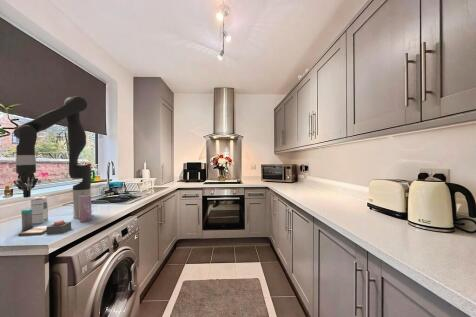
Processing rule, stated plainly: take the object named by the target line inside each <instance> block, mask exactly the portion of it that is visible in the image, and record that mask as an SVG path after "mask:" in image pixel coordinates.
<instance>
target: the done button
mask: <svg viewBox="0 0 476 317" xmlns="http://www.w3.org/2000/svg"><path fill="white" fill-rule="evenodd" d="M64 222H65V220H57V221H54V222H53V224H54V226H57V225H63V224H64Z"/></svg>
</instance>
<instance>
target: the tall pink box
mask: <svg viewBox="0 0 476 317" xmlns="http://www.w3.org/2000/svg"><path fill="white" fill-rule="evenodd" d="M92 217H93V216H92V195H80V196H79V218H78V220H79V223H87V222H90V221H92V220H93V219H92Z"/></svg>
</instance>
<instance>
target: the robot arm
mask: <svg viewBox="0 0 476 317" xmlns="http://www.w3.org/2000/svg"><path fill="white" fill-rule="evenodd" d="M87 108H88V102H87V100H86V99H85V98H84V97H81V96H77V95H76V96H69V97H66V99H64V103H63V105H62V106H59V107H58V108H55V109H52V110H50V111H48V112H45V113H43V114H41V115H39V116H38V117H35V118H33V119H32V120H30V121H28V122H26V123H23V124H21V125H19V126H17V127H16V128H15V129H14V130H13V135H14V137H16V139H18V144H16V147H15V148H16V149H15V151H16V152H15V156H16V157H15V174H17V175H18V176H17V179H16V180H13V184H14V185H15V186H16V187H17V189H18V190H21V191H22V196H23V198H24V199H25V198H30V197H31V195H32V193H31V191H32V189H34V188H35V187H36V185H37V183H38V181H39V178H36V177H35V173H37V159H36V144H37V138H38V133H40V132H43V131H45V130H47V129H49V128H51V127H52V126H54V125H56V124H58V123H59V122H61V121H62V120H65V119H66V124H67V125H66V127H67V129H66V130H67V143H68V157H69V158H68V175H69V177H70V179H72V180H73V179H74V180H79V179H81V181H80V182H79V183H77V184H73V185H72V208H73V210H72V212H73V215H72V216H73V218H74V219H79V196H80V195H91V194H92V193H91V185H92V168H91V165H90V164H88V163H82V164H81V163H80V164H79V163H78V160H79V156H80V155H81V154H82V152H83V151H84V148H86V144H87V134H86V131H85V129H84V126H83V125H82V123H81V119H80V116H81V115H80V112H83V111H85V110H87ZM91 196H92V195H91Z"/></svg>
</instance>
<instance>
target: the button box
mask: <svg viewBox="0 0 476 317" xmlns="http://www.w3.org/2000/svg"><path fill="white" fill-rule="evenodd" d="M46 226H47V232H46V235H49V234H50V235H51V234H63V233H65V232H67V231H70V230H71V229H72V221H64V224H63V225H57V226H54V223H52V224H50V225H46Z"/></svg>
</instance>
